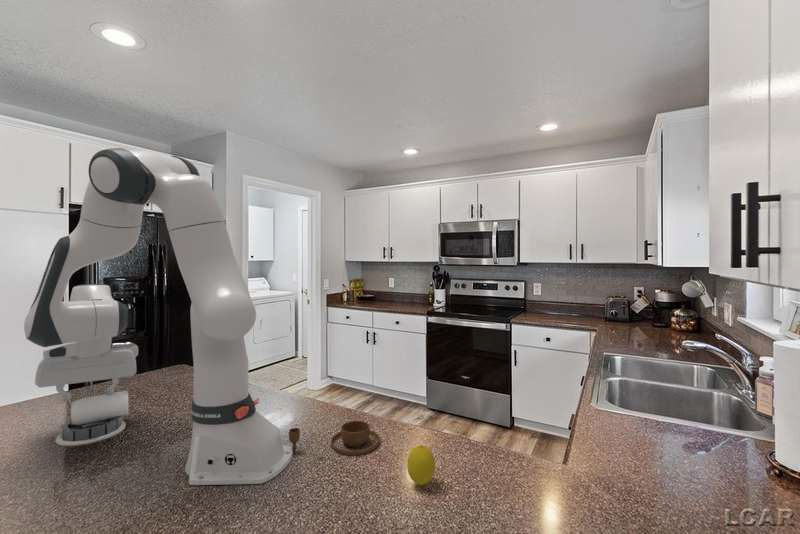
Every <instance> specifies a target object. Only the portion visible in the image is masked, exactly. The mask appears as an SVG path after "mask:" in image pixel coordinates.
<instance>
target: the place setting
mask: <svg viewBox="0 0 800 534" xmlns="http://www.w3.org/2000/svg"><path fill="white" fill-rule="evenodd" d="M370 427H371V426H370V424H369V423H368V422H366V421H363V420H351V421H347V422H345V423H344V424H342V425H341V427H340V428H341V429H340V431H339V432H337V433H335V434H334V435H333V436H332V437H331V438H330V446H331V447H332V449H333V451H335V452H336V453H338V454H341V455H345V456H361V455H365V454H368V453H371V452H373V451H374V450H375V449H377V448H378V446H379V444H380V439H381V438H380V436H379V434H378V433H377V432H375V431H374V430H370V429H371V428H370ZM300 432H301V431H300V428H298V427H294V428H292V427H291V428H290V429H289V430H288V439H289V442H290V443H291V445H292V446H291V447H292V450H293V455H297V453H298V452H297V449H298V448H297V442H299V440H300V438H301V437H300V435H301V434H300ZM370 437H372V438H374V439H375V441H376V442H375V444H373V445H372V446H370V447H367V448H363V449H356V450H352V449H351V450H348V449H342V448H340V447H338V446H336V445H335V442H336V441H338V440H339V439H340V438H341V440H342V442H343V443H344V444H345V445H347V446H348V447H350V448H359V447H360V448H361V447H362V446H364V444H366V442H367V441H369V438H370ZM323 459H324V457H323V456H319V459H317V460H319V461H323Z"/></svg>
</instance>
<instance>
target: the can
mask: <svg viewBox="0 0 800 534" xmlns="http://www.w3.org/2000/svg"><path fill="white" fill-rule="evenodd" d="M128 414H130V394H129V391H128V390H122V391H116V392H114V393H113V395H107V393H106V394H105V393H104V394H99V395H95V396H88V397H84V398H79V399H76V400H75V401H73V402H69V421H70V425H82V424H87V423H92V422H96V421H101V420H105V419H110V418H114V417H117V416H123V417H124V416H127V415H128Z"/></svg>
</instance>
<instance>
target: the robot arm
mask: <svg viewBox="0 0 800 534" xmlns="http://www.w3.org/2000/svg"><path fill="white" fill-rule="evenodd" d="M88 177H89V181H88V184H87V187H86V188H85V193H84V197H83V199H82V204H81V210H80V216H79V217H80V218H79V221H78V223H77V226H75V228H74V230H73V231H72V232H70V233H69V234H68V235H67V236H63V237H60V238H59V239H58V241H56V243H55V245H54V247H53V249H52V251H51V254H50V257H49V259H48V261H47V264H46V266H45V270H44V272H43V275H42V278H41V280H40V284H39V286H38V289H37V291H36V295H35V297H34V300H33V303H32V304H31V306H30V309H29V310H28V312H27V315H26V317H25V319H24V324H23V330H24V335H25V337H26V340H28V341H29V342H31V343H33V344H34V345H37V346H39V347H43V348H44V349H43V351H42V357H43V358H42V359H41V360H40V362H39V363H38V365H37V369H36V371H35V372H36V373H35V380H34V384H35V386H36V387H38V388H47V387H48V388H49V387H56V388H55V389H56V392H58V394H59V395H60V396H61V402H62V403H64V402H70V401H71V391H70V392H67V391H65V389H64V388H65V387H66V386H65V385H72V384H73V385H74V384H81V383H88V382H98V381H104V380H105V381H106V380H111V381H112V384H111V385H110V386H108V387H106V394H107V395H113V393H115V392H114V389H115V388H116V387H117V386H118V384H119V382H120V378H121V379H122V378H128V377H133V376H134V375H136V374H137V359H136V358H137V357H138V355H139V346H138V345H137V344H136V343H133V342H131V341H127V342H116V343H115V342H114V343H112V339H113V338H114V337H118V336H120V335H121V334H122V332H124V331H125V330H126V329H127V327H128V316H129V315H128V314H129V313H128V311H129V309H128V307H127V306H126V305H125V304H124V303H122V302H120V301H119V300H115V299H114V298H113V297H112V290H111V287H110V285H108V284H104V283H85V284H78V285H76V286H75V285H74V286H73V287H72V290H71V294H70V298H69V301H63V298H64V296H65V293H66V291H67V287H68V285H69V283H70V279H71V277H72V276H73V274H74V273H75V272H77V271H79V270H80V269H82V268H84V267H87V266H89V265H93V264H95V263H100V262H104V261H108V260H112V259H115V258H118V257H120V256H123V255H125V254H127V253H128V252H129V251H131V250H132V249H133V248H134V247H136V245H137V244H138V241H139V238H140V235H141V231H142V230H141V228H142V222H143V215H144V214H143V213H144V210H145V207H146V205H147V204H152V205H155V206H157V207H158V208H159V209H160V210H161V212H162V213H163V217H164V220H165V224H166V229H167V231H168V234H169V238H170V241H171V245H172V248H173V253H174V256H175V258H176V261H177V265H178V268H179V271H180V273H181V276H182V279H183V281H184V284H185V287H186V290H187V292H188V296H189V298H190V301H191V303H190V304H191V305H190V309H189V310H190V333H191V335H190V337H191V349H192V361H193V400H192V402H191V407H190V409H191V410H190V412H191V413H190V415H191V416H190V417H191V418H190V419H191V420H192V431H191V432H192V434H191V441H190V448H189V452H188V453H189V454H188V457H187V460H186V464H185V467H184V471H185V473H186V474H187V475H188V484H189V485H191V486H210V485H211V486H213V485H215V486H217V485H221V486H222V485H259V484H264V483H266V482H269V481H270V480H272V479H274V478H276V477H277V476H278V475H279V474H281V472H283V471H284V470H285V468H287V466H289V464H290V462H291V461H292V460H293V457H294V454H293V450H292V447H293V446H289V445H285V444H284V443H283V436H282V433H281V429H279V427H278V426H277V425H276V424H274V423H273V422H271V421H270V420H268V419H267V418H266V417H264V416H263V415H262V414H261V413H259V412H258V411H257V408H256V405H258V404H259V403H260V401H259V400H260V398H259V397H258V398H256V399H254V400H253V398H252V395H251V394H250V392H249V358H248V353H247V348H246V347H247V346H246V340H245V336H246V335H247V334H248V333H249V332H250V331H251V330H252V329H253V327H254V326H255V322H256V320H257V312H256V307H255V305H254V303H253V300H252V297H251V295H250V292H249V289H248V286H247V283H246V281H245V278H244V275H243V274H242V272H241V269H240V266H239V265H238V262H237V258H236V257H235V253H234V250H233V247H232V243H231V240H230V235H229V231H228V229H227V226H226V225H227V224H226V222H225V217H224V215H223V211H222V209H221V205H220V203H219V201H218V199H217V198H218V197H216V193H215V192H214V190H213V188H212V186H211V184H210V182H209V181H208V180H206V178H204V177H202V176H201V175H200V173H199V171H198V169H197V168H196V166H195V165H194V164H193V163H192V162H190V161H189V160H187V159H186V158H182V157H180V156H178V155H177V156H176V155H167V154H163V153H159V152H154V151H152V150H143V149H125V148H121V147H118V148H117V147H116V148H115V147H114V148H113V147H112V148H107V149H106V148H105V149H102V150H98V151H97V152H95V153H94V155H92V156H91V159H90V161H89V164H88Z"/></svg>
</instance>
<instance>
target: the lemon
mask: <svg viewBox="0 0 800 534" xmlns="http://www.w3.org/2000/svg"><path fill="white" fill-rule="evenodd" d="M406 464H407V465H406V466H407V473H408V476H409V479H411V480H412V481H413V483H415V484H418V485H419V486H423V485H426V484H428V483H430V481H431V480H432V479H433V477H434V475H435V472H436V461H435V456H434V453H433V452H432V450H431V449H429V447H427V446H425V445H423V444H419V445H417V446H414V447H413V448H412V449H411V450H410V452H409V454H408V457H407V462H406Z"/></svg>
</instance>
